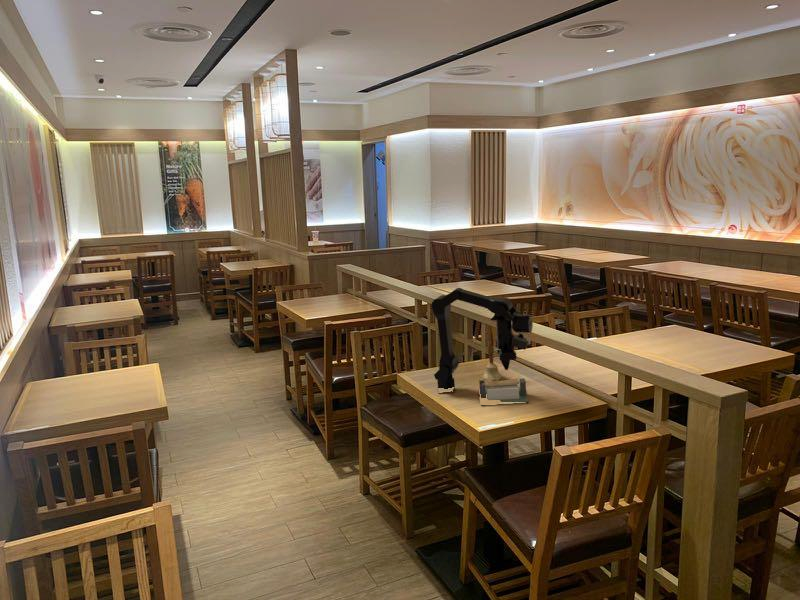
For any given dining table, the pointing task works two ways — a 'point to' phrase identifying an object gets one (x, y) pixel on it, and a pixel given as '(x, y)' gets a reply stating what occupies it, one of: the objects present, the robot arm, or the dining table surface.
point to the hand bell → (491, 366)
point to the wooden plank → (501, 383)
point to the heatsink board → (505, 392)
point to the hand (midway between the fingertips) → (506, 369)
